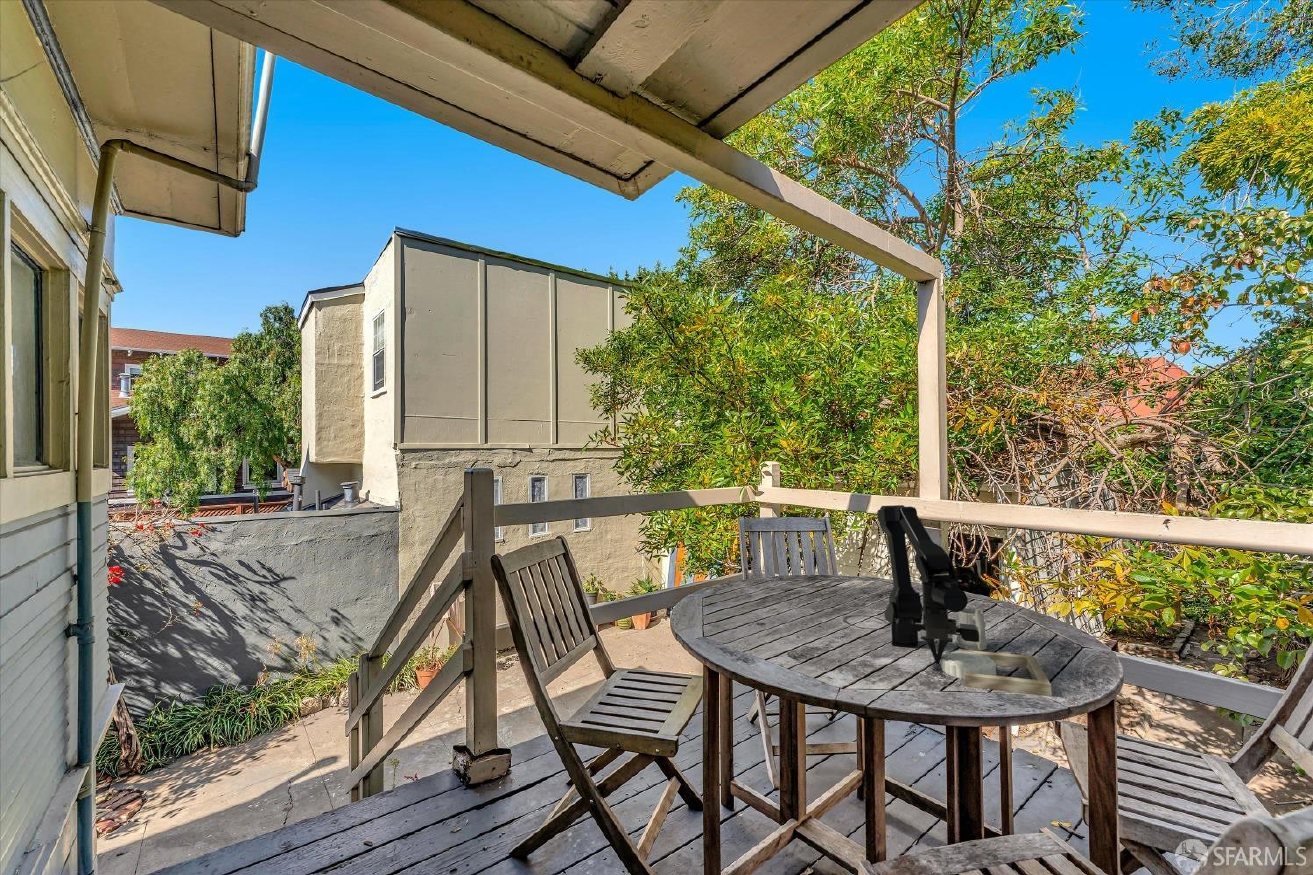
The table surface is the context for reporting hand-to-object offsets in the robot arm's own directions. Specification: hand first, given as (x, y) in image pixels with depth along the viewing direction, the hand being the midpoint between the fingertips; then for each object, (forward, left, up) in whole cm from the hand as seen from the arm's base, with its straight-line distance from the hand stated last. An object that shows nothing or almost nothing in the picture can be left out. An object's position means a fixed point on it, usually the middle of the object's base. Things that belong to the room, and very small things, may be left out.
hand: (937, 663), depth 146 cm
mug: (+10, +19, -2) cm, 22 cm away
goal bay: (+13, 0, -1) cm, 13 cm away
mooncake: (+7, +1, -2) cm, 7 cm away
